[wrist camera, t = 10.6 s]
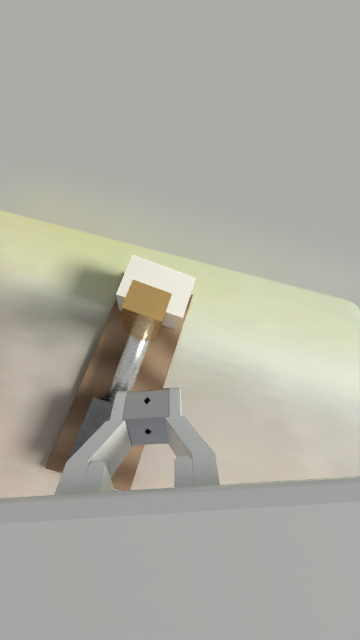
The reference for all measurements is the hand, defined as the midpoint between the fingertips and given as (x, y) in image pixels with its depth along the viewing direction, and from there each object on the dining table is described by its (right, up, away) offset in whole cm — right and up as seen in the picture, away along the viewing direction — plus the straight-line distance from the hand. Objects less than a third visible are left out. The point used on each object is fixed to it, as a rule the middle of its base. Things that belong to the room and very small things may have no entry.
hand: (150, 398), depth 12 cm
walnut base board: (-6, -4, +25) cm, 26 cm away
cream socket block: (-3, +6, +28) cm, 29 cm away
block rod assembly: (-5, 0, +24) cm, 25 cm away
